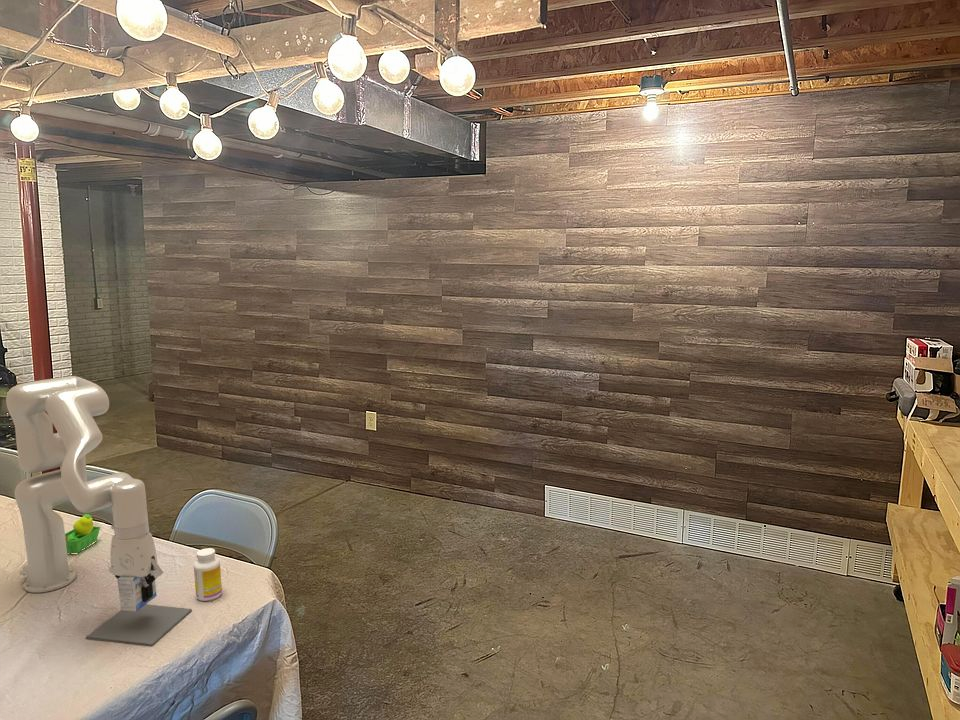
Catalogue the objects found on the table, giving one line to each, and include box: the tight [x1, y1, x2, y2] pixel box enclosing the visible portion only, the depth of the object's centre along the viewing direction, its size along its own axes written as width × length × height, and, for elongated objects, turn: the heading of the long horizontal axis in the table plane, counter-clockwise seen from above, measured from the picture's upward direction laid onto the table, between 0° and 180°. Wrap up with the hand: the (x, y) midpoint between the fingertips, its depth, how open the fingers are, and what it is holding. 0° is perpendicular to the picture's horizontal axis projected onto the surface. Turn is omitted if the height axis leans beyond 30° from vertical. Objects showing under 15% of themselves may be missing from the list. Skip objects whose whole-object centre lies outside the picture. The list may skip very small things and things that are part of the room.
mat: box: [85, 603, 193, 647], centre depth 169 cm, size 18×16×1 cm
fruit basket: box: [65, 513, 101, 554], centre depth 211 cm, size 11×9×11 cm
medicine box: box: [116, 570, 158, 612], centre depth 167 cm, size 8×4×9 cm, turn 169°
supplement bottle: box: [193, 547, 223, 602], centre depth 182 cm, size 7×7×13 cm
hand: (138, 597), depth 168 cm, fingers closed on medicine box, 4 cm apart
